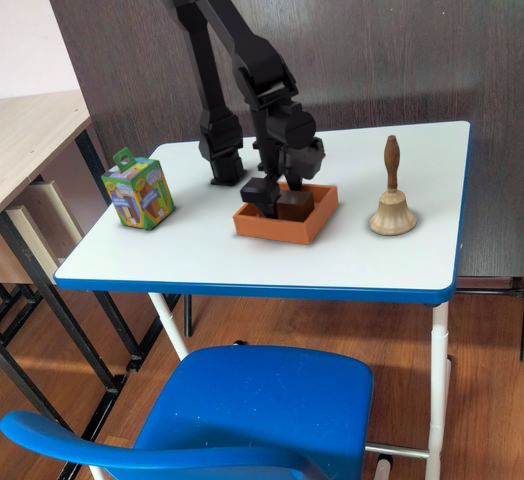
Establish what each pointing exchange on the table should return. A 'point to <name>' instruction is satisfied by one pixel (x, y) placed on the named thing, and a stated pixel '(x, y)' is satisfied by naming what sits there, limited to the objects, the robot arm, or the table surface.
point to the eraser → (293, 206)
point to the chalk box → (138, 190)
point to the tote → (289, 230)
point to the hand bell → (392, 198)
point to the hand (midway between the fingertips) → (286, 211)
